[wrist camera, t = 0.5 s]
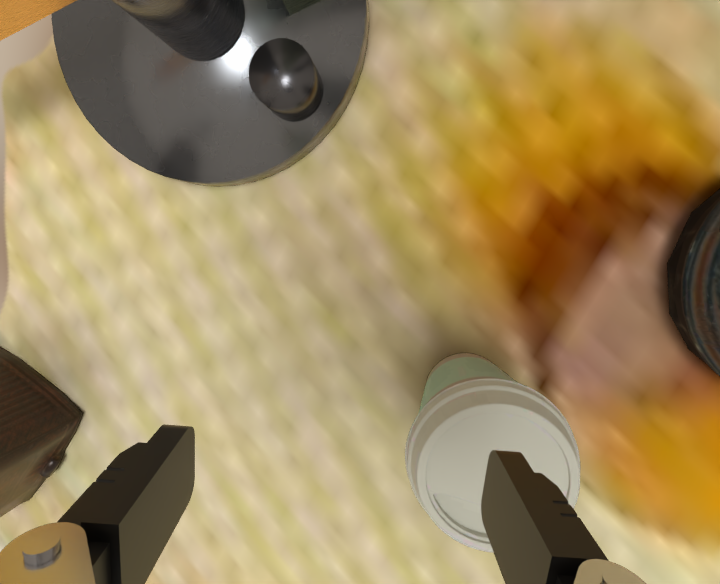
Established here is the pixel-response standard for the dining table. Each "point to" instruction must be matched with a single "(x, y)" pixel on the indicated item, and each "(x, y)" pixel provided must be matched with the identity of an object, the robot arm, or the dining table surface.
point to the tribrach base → (215, 86)
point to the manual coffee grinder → (30, 430)
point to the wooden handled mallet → (152, 21)
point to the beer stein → (698, 282)
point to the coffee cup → (481, 442)
